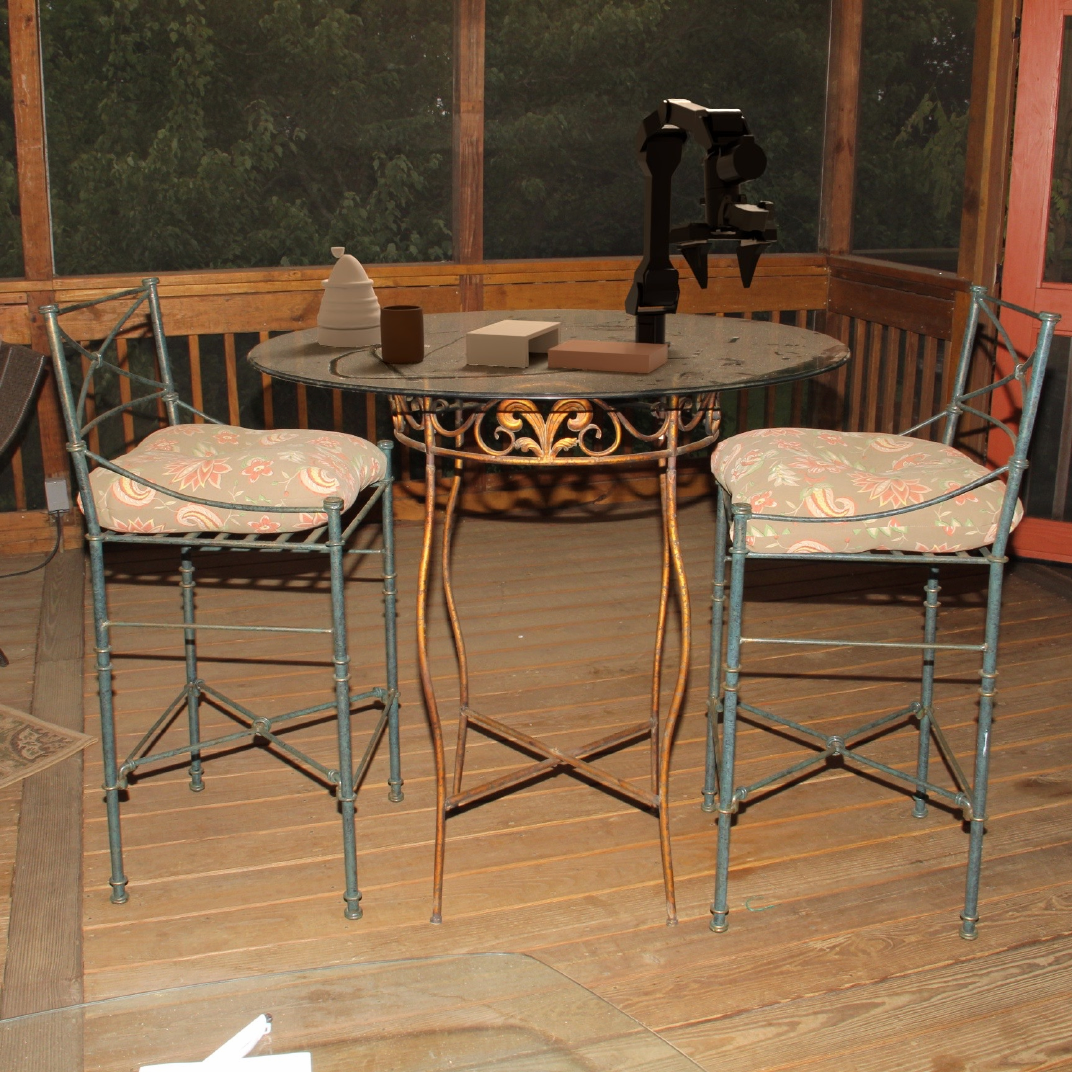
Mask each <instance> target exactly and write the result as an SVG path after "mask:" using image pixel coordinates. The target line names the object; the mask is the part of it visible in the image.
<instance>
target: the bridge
mask: <svg viewBox="0 0 1072 1072" xmlns="http://www.w3.org/2000/svg"><path fill="white" fill-rule="evenodd" d="M560 344H562V322H560V321H559V322H557V321H556V322H554V321H539V320H538V321H537V320H534V321H533V320H520V319H519V320H517V319H516V320H515V319H503V320H501V321H498V322H495V323H492V324H489V325H486V326H483V327H480V328H478V329H474V330H471V331H468V332H466V333H465V345H466V347H465V348H466V349H465V350H466V353H465V354H466V365H467V364H478V365H497V366H505V367H504V368H509V367H528V366H529V365H530V364H529V353H539V354H548V349H551V348H553V347H555V346H557V345H560ZM528 368H529V367H528Z"/></svg>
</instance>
